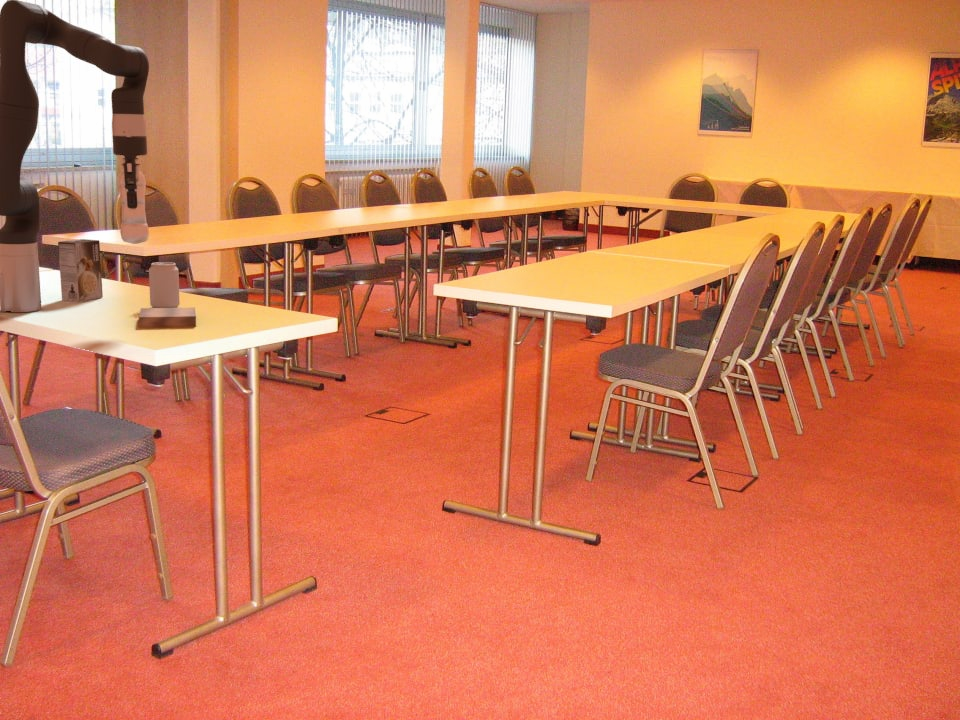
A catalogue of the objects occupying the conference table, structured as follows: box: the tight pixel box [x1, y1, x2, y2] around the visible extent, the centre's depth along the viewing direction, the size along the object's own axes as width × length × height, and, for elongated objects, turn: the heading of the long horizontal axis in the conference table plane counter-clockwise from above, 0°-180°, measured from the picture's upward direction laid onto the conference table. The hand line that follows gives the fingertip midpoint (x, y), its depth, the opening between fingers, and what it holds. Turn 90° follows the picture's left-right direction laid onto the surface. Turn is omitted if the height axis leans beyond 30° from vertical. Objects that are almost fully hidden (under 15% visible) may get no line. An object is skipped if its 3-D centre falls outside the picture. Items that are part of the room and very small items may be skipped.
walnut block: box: [138, 307, 197, 328], centre depth 245 cm, size 13×13×2 cm
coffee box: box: [57, 238, 104, 303], centre depth 273 cm, size 9×6×16 cm
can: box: [148, 261, 181, 308], centre depth 264 cm, size 8×8×12 cm
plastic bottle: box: [117, 157, 150, 245], centre depth 236 cm, size 6×7×20 cm
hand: (133, 206), depth 236 cm, fingers closed on plastic bottle, 6 cm apart
